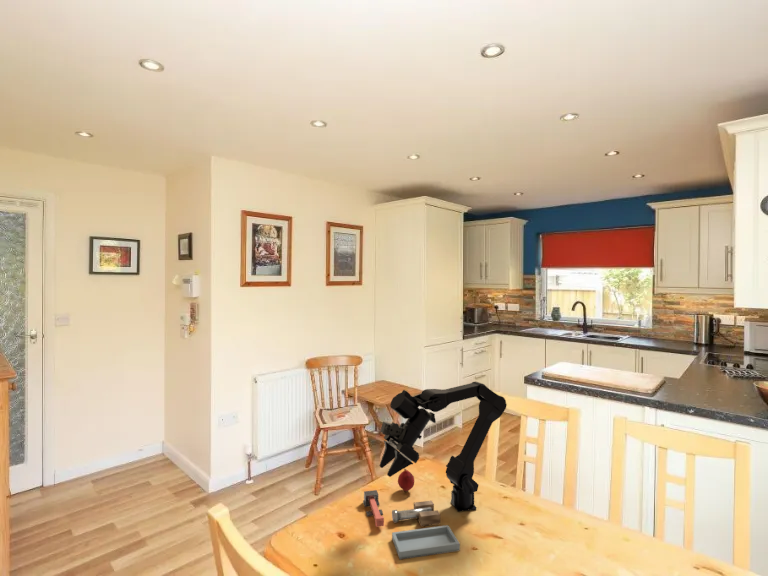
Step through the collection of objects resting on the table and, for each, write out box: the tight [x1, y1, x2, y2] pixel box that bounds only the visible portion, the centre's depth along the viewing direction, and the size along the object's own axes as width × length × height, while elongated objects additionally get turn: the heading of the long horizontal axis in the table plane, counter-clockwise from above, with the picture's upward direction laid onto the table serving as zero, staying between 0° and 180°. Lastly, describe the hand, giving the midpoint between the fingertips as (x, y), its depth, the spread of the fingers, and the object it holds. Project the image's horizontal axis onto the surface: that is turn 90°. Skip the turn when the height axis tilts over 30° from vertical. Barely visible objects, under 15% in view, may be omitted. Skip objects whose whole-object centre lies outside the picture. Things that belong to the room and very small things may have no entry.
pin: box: [391, 507, 432, 524], centre depth 125 cm, size 12×3×3 cm, turn 102°
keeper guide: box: [362, 489, 384, 517], centre depth 131 cm, size 5×8×4 cm, turn 12°
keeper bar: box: [368, 497, 385, 528], centre depth 128 cm, size 2×16×2 cm, turn 12°
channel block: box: [413, 500, 441, 527], centre depth 126 cm, size 6×8×3 cm
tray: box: [391, 524, 461, 560], centre depth 113 cm, size 17×9×2 cm, turn 102°
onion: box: [397, 467, 415, 493], centre depth 142 cm, size 6×6×8 cm
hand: (384, 471), depth 120 cm, fingers open, 9 cm apart
